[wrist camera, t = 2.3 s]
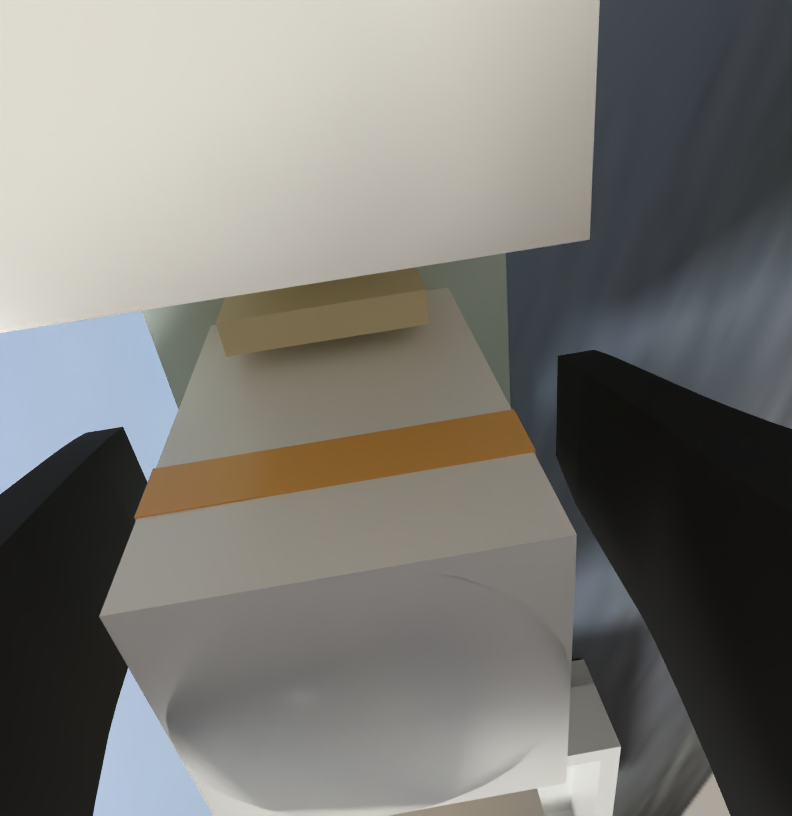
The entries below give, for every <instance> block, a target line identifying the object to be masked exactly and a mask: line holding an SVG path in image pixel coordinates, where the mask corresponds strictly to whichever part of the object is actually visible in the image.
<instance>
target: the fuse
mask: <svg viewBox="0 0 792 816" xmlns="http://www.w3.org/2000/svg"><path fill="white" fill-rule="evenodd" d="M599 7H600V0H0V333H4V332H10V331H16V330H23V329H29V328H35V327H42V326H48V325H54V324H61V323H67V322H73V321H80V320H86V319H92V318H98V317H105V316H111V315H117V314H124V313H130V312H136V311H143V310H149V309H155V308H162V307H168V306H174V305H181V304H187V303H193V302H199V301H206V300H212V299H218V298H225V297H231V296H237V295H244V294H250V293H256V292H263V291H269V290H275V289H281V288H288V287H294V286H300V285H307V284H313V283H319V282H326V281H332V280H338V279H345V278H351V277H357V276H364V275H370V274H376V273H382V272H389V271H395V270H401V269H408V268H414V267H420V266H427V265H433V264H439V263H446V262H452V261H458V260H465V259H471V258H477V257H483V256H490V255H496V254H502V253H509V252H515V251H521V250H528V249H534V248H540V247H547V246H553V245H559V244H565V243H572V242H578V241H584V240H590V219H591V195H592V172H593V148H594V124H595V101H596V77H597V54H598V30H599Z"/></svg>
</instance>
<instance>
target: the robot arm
mask: <svg viewBox="0 0 792 816" xmlns="http://www.w3.org/2000/svg"><path fill="white" fill-rule="evenodd" d="M556 456H557V459H558V461H559V464H560V467H561V469H562V472H563V474H564V477H565V479H566V482H567V484H568V486H569V489H570V491H571V493H572V496H573V498H574V500H575V503H576V505H577V507H578V508H579V510H580V512H581V514H582V515H583V517H584V519H585V521H586V522H587V524H588V526H589V527H590V529H591V531H592V533H593V534H594V536H595V538H596V539H597V541H598V543H599V545H600V546H601V548H602V550H603V551H604V553H605V555H606V556H607V558H608V560H609V561H610V563H611V565H612V566H613V568H614V570H615V571H616V573H617V575H618V577H619V578H620V580H621V582H622V583H623V585H624V587H625V588H626V590H627V592H628V593H629V595H630V597H631V598H632V600H633V602H634V603H635V605H636V607H637V609H638V610H639V612H640V614H641V616H642V617H643V619H644V621H645V623H646V625H647V627H648V629H649V631H650V632H651V634H652V636H653V638H654V640H655V642H656V644H657V647H658V649H659V651H660V653H661V655H662V658H663V660H664V662H665V664H666V666H667V668H668V671H669V673H670V675H671V677H672V679H673V682H674V684H675V686H676V688H677V690H678V692H679V695H680V697H681V699H682V701H683V704H684V706H685V708H686V711H687V713H688V715H689V717H690V720H691V722H692V724H693V727H694V729H695V731H696V734H697V736H698V738H699V741H700V743H701V745H702V747H703V750H704V752H705V754H706V757H707V759H708V761H709V764H710V766H711V769H712V771H713V773H714V776H715V778H716V781H717V783H718V786H719V788H720V791H721V793H722V795H723V798H724V800H725V803H726V805H727V808H728V810H729V813H730V815H731V816H792V429H790V428H787V427H784V426H781V425H778V424H775V423H772V422H769V421H766V420H764V419H761V418H758V417H756V416H753V415H750V414H748V413H745V412H742V411H740V410H737V409H734V408H732V407H729V406H726V405H724V404H722V403H719V402H717V401H714V400H712V399H709V398H707V397H704V396H702V395H700V394H697V393H695V392H692V391H690V390H688V389H686V388H683V387H681V386H679V385H676V384H674V383H672V382H670V381H667V380H665V379H663V378H661V377H658V376H656V375H654V374H652V373H649V372H647V371H645V370H643V369H640V368H638V367H636V366H634V365H631V364H629V363H627V362H625V361H622V360H620V359H618V358H615V357H613V356H610V355H608V354H605V353H602V352H599V351H596V350H591V351H584V352H578V353H572V354H566V355H560V356H558V376H557V436H556ZM146 486H147V481H146V479H145V476H144V474H143V472H142V469H141V467H140V465H139V462H138V460H137V458H136V456H135V453H134V451H133V449H132V446H131V444H130V442H129V440H128V437H127V435H126V433H125V430H124V428H123V427H119V428H113V429H107V430H101V431H94V432H88V433H85V434H83V435H81V436H80V437H78V438H76V439H74V440H73V441H71V442H70V443H68V444H67V445H66V446H64V447H63V448H61V449H60V450H58V451H57V452H56V453H54V454H53V455H52V456H50V457H49V458H47V459H46V460H45V461H44V462H42V463H41V464H40V465H38V466H37V467H36V468H34V469H33V470H32V471H30V472H29V473H28V474H26V475H25V476H24V477H22V478H21V479H20V480H19V481H17V482H16V483H15V484H13V485H12V486H11V487H9V488H8V489H7V490H5V491H4V492H3V493H2V494H0V816H93V811H94V805H95V800H96V795H97V790H98V785H99V780H100V775H101V770H102V765H103V760H104V755H105V750H106V745H107V740H108V735H109V731H110V727H111V723H112V720H113V716H114V712H115V708H116V704H117V701H118V698H119V695H120V691H121V688H122V685H123V682H124V679H125V675H126V672H127V669H128V666H127V664H126V662H125V661H124V659H123V657H122V655H121V654H120V652H119V650H118V648H117V647H116V645H115V643H114V641H113V640H112V638H111V636H110V634H109V633H108V631H107V629H106V627H105V626H104V624H103V622H102V621H101V619H100V617H99V616H100V613H101V610H102V608H103V605H104V603H105V600H106V597H107V595H108V592H109V590H110V587H111V584H112V582H113V579H114V577H115V574H116V571H117V569H118V566H119V564H120V561H121V558H122V556H123V553H124V551H125V548H126V545H127V543H128V540H129V538H130V535H131V532H132V530H133V527H134V525H135V522H136V521H135V518H134V516H135V514H136V511H137V509H138V506H139V503H140V501H141V498H142V496H143V493H144V491H145V488H146Z"/></svg>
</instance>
